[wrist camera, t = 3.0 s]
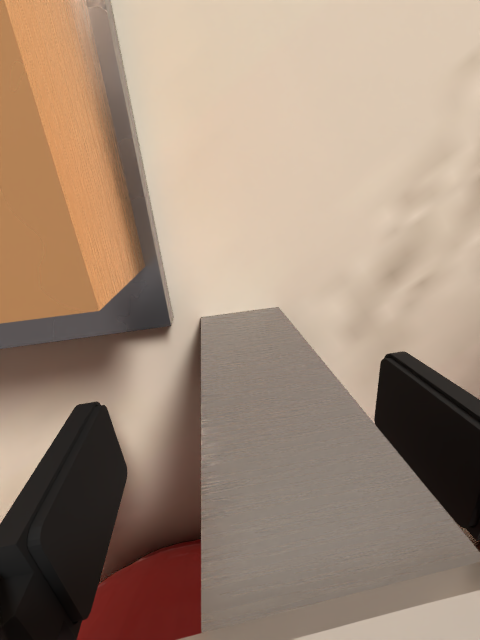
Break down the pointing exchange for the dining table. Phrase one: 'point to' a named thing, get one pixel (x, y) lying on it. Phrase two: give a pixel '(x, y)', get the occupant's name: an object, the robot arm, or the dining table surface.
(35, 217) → the grey stepped fixture
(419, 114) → the dining table surface
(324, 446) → the grey rectangular block
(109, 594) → the mixing bowl
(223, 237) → the dining table surface
